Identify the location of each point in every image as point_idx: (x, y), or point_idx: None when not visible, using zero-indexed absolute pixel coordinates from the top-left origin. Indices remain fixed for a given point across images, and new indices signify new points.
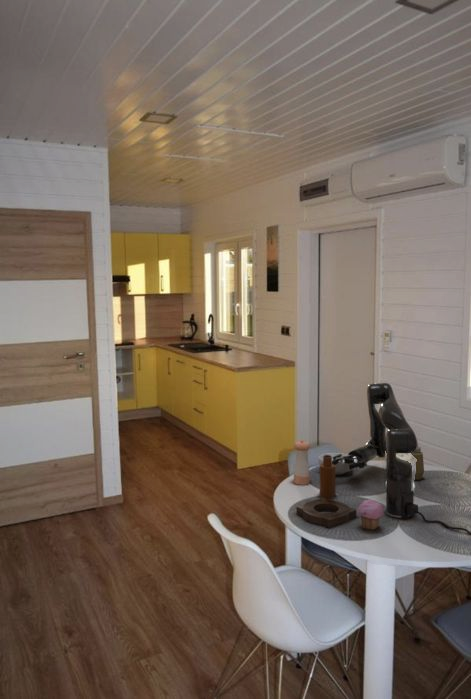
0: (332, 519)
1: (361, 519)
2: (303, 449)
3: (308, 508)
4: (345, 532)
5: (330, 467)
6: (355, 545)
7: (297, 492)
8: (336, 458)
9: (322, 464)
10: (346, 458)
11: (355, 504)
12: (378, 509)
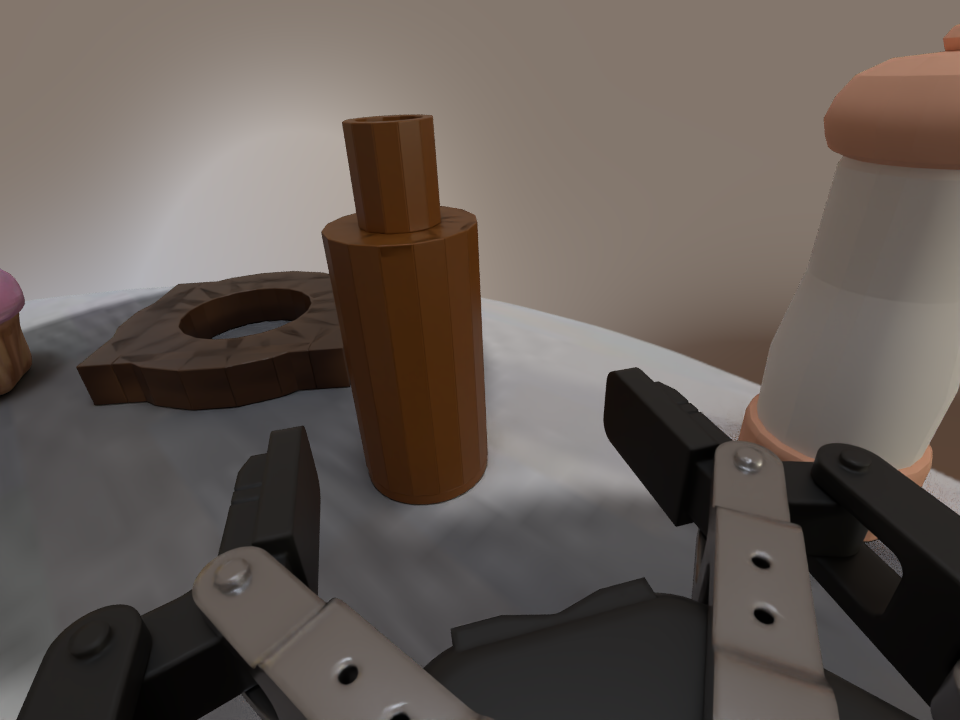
0: (170, 292)
1: (20, 328)
2: (825, 130)
3: (315, 282)
4: (110, 326)
5: (342, 220)
6: (46, 309)
7: (595, 383)
8: (726, 444)
9: (456, 217)
10: (646, 601)
11: (156, 501)
12: None
